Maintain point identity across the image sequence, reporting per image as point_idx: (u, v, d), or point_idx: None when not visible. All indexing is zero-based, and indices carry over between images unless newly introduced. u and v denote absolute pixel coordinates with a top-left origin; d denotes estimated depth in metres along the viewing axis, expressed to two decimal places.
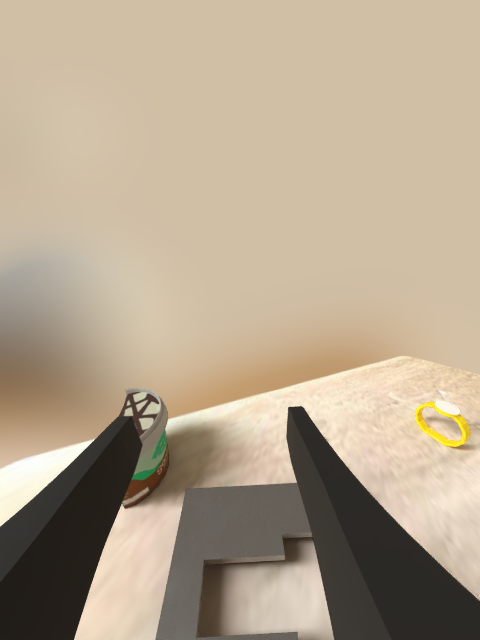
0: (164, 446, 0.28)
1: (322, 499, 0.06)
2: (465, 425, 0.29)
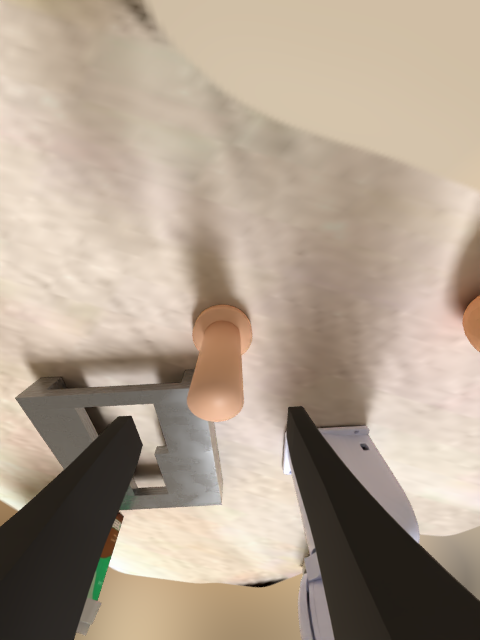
0: None
1: (322, 499, 0.06)
2: None
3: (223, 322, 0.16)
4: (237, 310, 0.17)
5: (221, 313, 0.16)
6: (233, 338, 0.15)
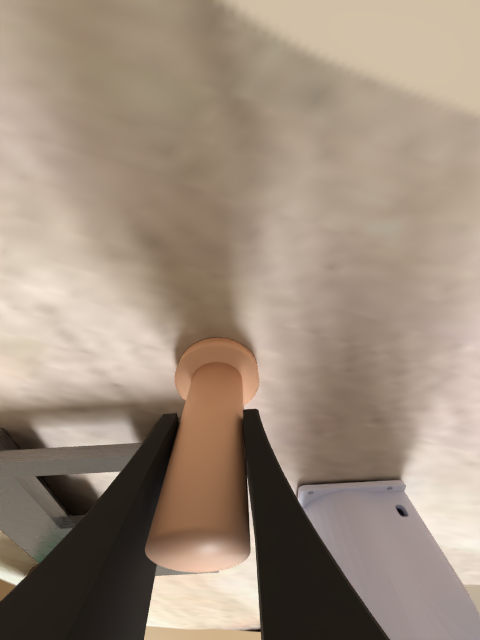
0: None
1: (253, 503, 0.06)
2: None
3: (218, 366, 0.11)
4: (238, 346, 0.12)
5: (215, 352, 0.11)
6: (231, 398, 0.10)
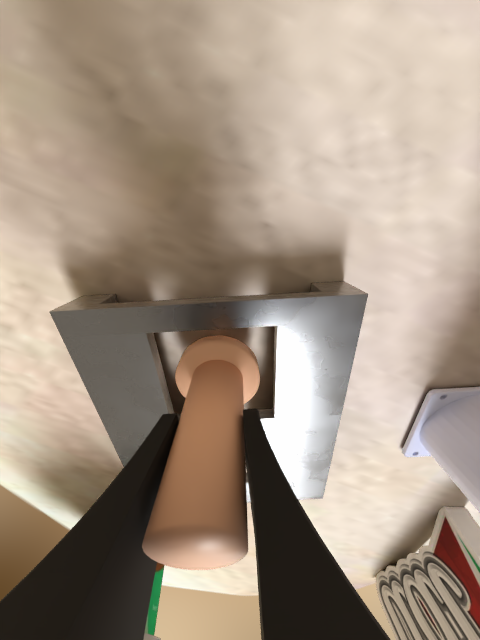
0: None
1: (253, 503, 0.06)
2: None
3: (220, 363, 0.11)
4: (240, 345, 0.12)
5: (217, 350, 0.11)
6: (232, 397, 0.10)
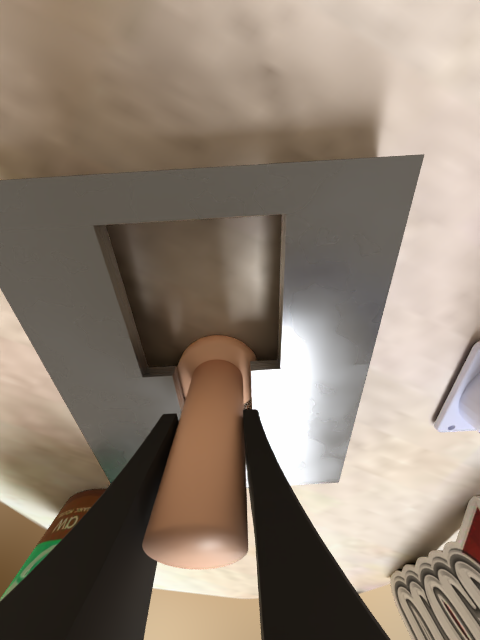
0: None
1: (253, 503, 0.06)
2: None
3: (220, 363, 0.11)
4: (240, 345, 0.12)
5: (217, 350, 0.11)
6: (232, 396, 0.10)
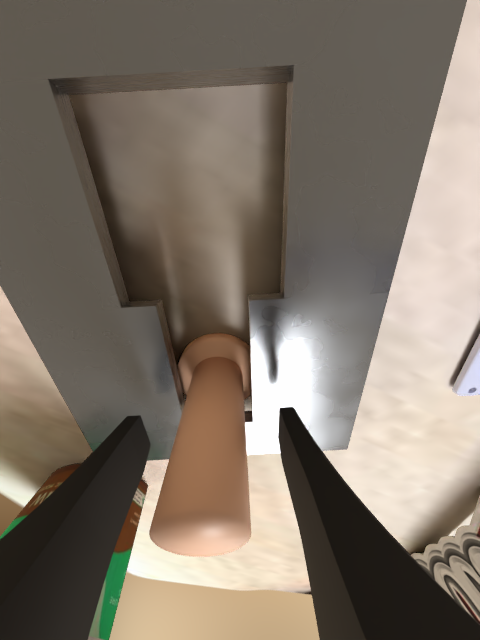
0: None
1: (308, 500, 0.06)
2: None
3: (220, 360, 0.12)
4: (240, 343, 0.12)
5: (218, 347, 0.12)
6: (233, 392, 0.10)
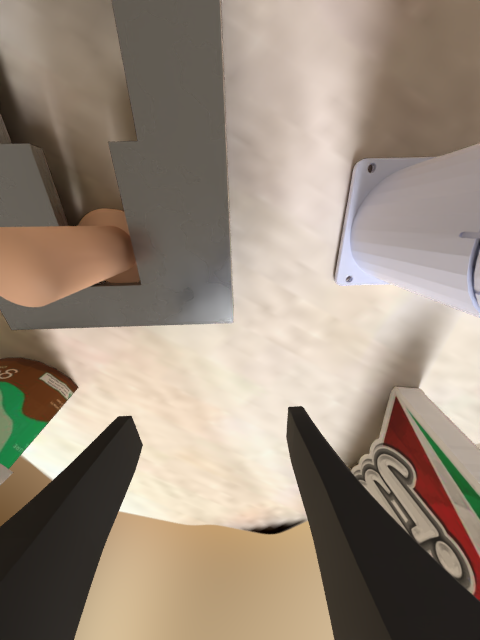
0: None
1: (322, 499, 0.06)
2: None
3: (110, 226, 0.13)
4: None
5: (108, 215, 0.13)
6: (105, 233, 0.12)
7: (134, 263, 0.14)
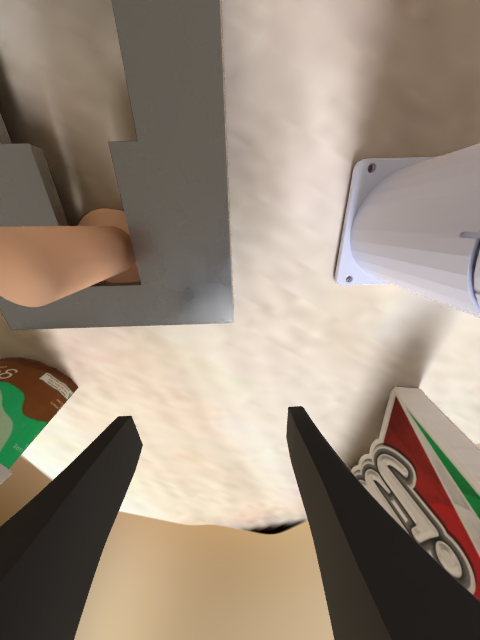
0: None
1: (322, 499, 0.06)
2: None
3: (110, 226, 0.13)
4: None
5: (108, 215, 0.13)
6: (105, 233, 0.12)
7: (134, 263, 0.14)
